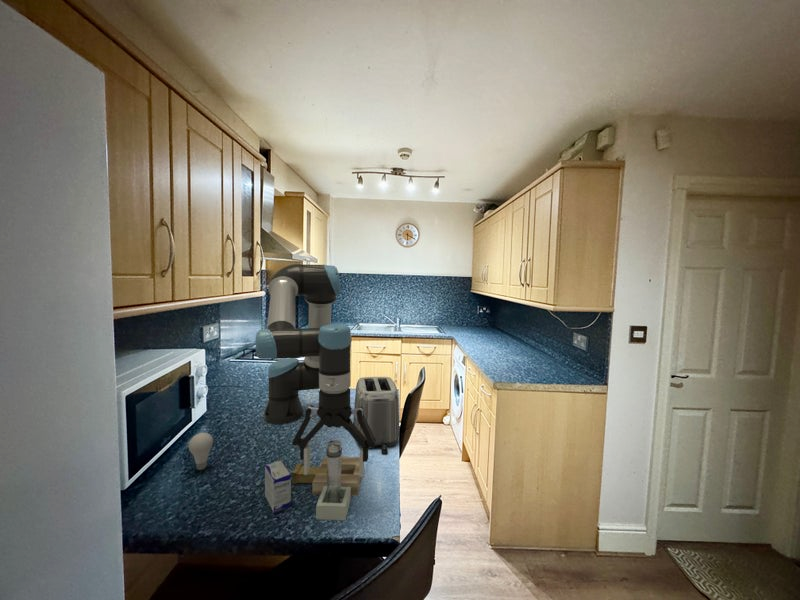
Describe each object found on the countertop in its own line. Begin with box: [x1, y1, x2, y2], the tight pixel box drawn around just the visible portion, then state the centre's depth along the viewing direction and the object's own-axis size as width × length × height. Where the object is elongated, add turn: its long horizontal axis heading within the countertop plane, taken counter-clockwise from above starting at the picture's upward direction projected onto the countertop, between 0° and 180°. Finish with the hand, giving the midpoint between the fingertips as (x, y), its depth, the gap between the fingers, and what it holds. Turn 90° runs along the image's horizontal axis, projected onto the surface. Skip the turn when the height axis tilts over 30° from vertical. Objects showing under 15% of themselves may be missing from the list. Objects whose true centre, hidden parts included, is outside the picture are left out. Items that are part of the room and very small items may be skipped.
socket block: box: [311, 455, 363, 497], centre depth 89 cm, size 12×12×4 cm
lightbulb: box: [188, 432, 214, 471], centre depth 93 cm, size 6×6×11 cm
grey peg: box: [325, 439, 343, 503], centre depth 78 cm, size 4×4×16 cm
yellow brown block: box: [291, 462, 327, 485], centre depth 89 cm, size 5×9×3 cm, turn 89°
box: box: [264, 460, 292, 514], centre depth 80 cm, size 8×4×9 cm, turn 38°
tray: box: [315, 486, 352, 521], centre depth 78 cm, size 7×7×4 cm
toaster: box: [352, 376, 400, 455], centre depth 116 cm, size 17×30×19 cm, turn 8°
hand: (334, 472), depth 78 cm, fingers open, 13 cm apart
